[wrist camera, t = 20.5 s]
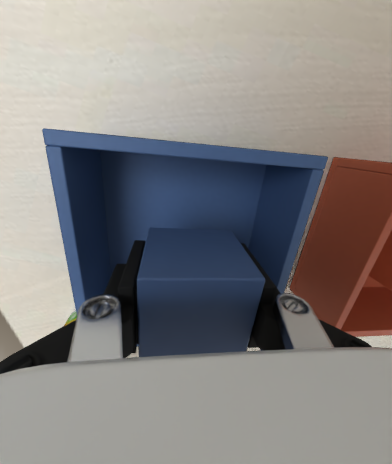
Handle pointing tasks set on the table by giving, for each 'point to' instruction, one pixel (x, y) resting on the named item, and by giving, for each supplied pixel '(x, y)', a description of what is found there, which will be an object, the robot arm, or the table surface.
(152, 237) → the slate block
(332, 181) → the terracotta bin
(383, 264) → the terracotta block
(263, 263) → the slate bin
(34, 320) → the table surface
